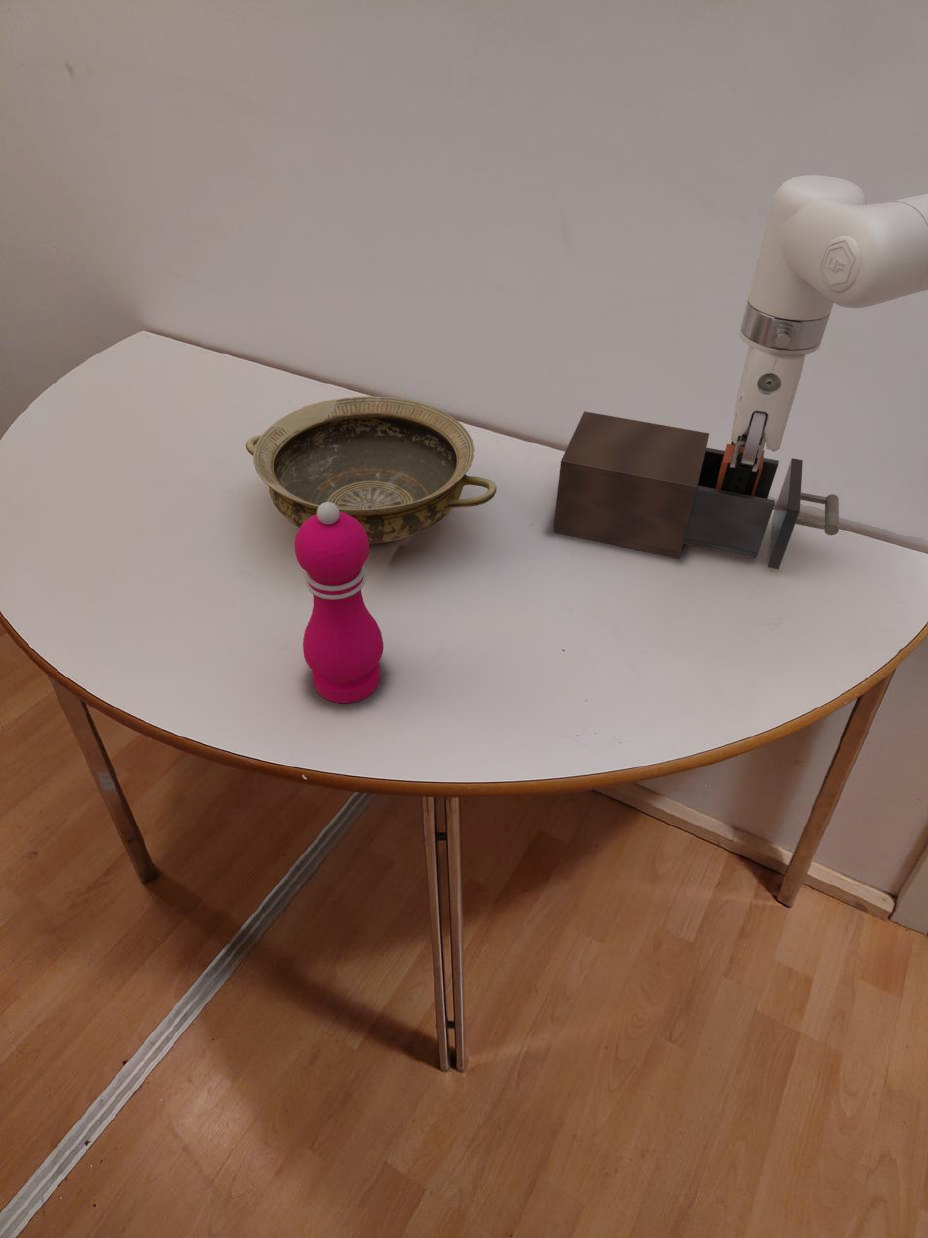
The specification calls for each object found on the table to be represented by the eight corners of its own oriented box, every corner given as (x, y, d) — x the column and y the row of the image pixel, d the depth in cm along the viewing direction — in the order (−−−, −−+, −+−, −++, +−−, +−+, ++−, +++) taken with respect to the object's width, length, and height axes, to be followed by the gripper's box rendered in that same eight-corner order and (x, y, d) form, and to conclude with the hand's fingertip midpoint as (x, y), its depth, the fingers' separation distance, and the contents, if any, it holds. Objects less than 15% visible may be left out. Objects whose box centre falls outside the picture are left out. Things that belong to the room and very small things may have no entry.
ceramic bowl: (523, 495, 100) (529, 422, 94) (451, 617, 84) (452, 539, 77) (306, 445, 108) (297, 374, 101) (201, 548, 91) (182, 472, 85)
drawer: (824, 525, 95) (847, 467, 90) (823, 579, 88) (848, 520, 83) (668, 494, 100) (680, 437, 94) (654, 543, 92) (667, 485, 87)
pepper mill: (348, 720, 74) (328, 544, 60) (292, 683, 77) (260, 508, 63) (401, 674, 78) (392, 499, 64) (345, 641, 81) (326, 468, 67)
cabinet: (692, 503, 100) (709, 433, 93) (679, 559, 92) (697, 486, 85) (575, 480, 103) (584, 410, 97) (552, 532, 95) (560, 460, 88)
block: (755, 481, 91) (764, 449, 89) (752, 500, 88) (762, 469, 86) (718, 474, 92) (726, 443, 89) (714, 493, 89) (723, 461, 87)
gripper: (823, 368, 71) (766, 537, 84) (825, 297, 83) (775, 454, 95) (735, 354, 73) (692, 521, 85) (749, 286, 84) (709, 443, 97)
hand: (736, 485), depth 90 cm, fingers closed on block, 4 cm apart
